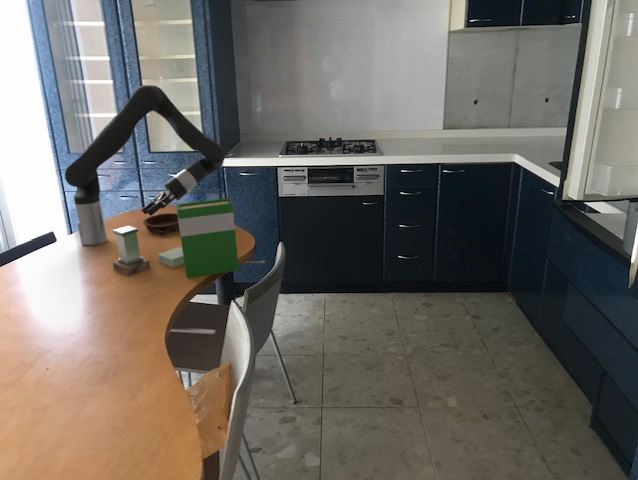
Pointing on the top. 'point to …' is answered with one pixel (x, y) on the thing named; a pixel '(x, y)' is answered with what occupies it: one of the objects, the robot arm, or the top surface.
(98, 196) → the robot arm
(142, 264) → the walnut stand
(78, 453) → the top surface
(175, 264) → the green stand
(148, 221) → the dish
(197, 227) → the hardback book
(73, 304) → the top surface
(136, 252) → the grey square pedestal
